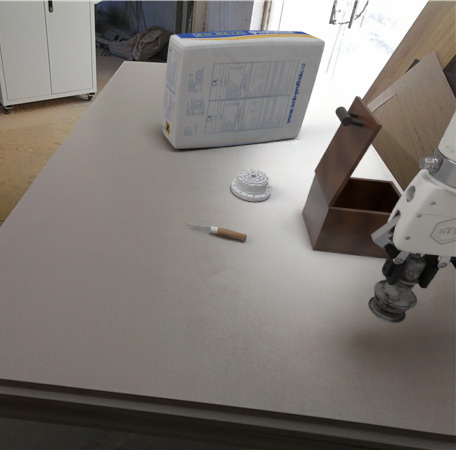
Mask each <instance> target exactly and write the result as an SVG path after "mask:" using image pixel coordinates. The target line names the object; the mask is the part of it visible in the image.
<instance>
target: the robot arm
mask: <svg viewBox="0 0 456 450" xmlns="http://www.w3.org/2000/svg"><path fill="white" fill-rule="evenodd" d="M418 165H419V169H420V171H418V173H417V174H416V175H415V177H414V178H413V179H412V180H411V182H410V183H409V184H408V186H407V187H406V188H405V190H404V191H403V192H402V193H401V195H402V196H401V197H400V199H399V201H398V202H397V204H396V206H395V208H394V209H393V211H392V213H391V215H390V217H389V220H388V222H387V223H386V224H385V225H384V226H382V227H381V228H379V229H378V230H377V231H375V232H374V233H372V235H371V237H372V239H373V241H374V243H375V244H377V245H378V246H380V247H381V248H383V249H385V251H386V252H387V253H388V257H387V258H385V261H384V263H383V265H382V268H381V273H382V275H383V277H384V278H385V279H386V280H387V282H388V284H389V285H395V284H396V282H397V280H398V278H399V277H400V275H401V273H402V271H403V270H404V268H405V265H404V263H403V261H404V260H405V259H406V258H407V256H408V255H409V254H410V253H415V254H416V253H421V257H423V258H424V260H425V262H426V265H425V267H424V269H423V271H422V272H421V274H420V276H419V278H420V282H419V283H418V284H417V285H418V286H419V288H421V289H424V290H425V289H427V288H428V287H429V286H430V283H431V282H432V281H433V280H434V278H435V277H436V275H437V274H438V273H439V271H440V269H446V268H447V267H448V266H449V263H452V262H454V261H456V110H455V111H454V113H453V115H452V117H451V119H450V122H449V123H448V125H447V127H446V129H445V131H444V134H443V135H442V137H441V139H440V142H439V143H438V146H437V147H436V148H434V151H433V153H432V155H430V156H423V157H421V158H420V160H419V162H418ZM392 235H393V241H391V239H389V238H390V237H391V236H392Z"/></svg>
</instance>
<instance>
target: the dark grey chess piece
mask: <svg viewBox="0 0 456 450" xmlns="http://www.w3.org/2000/svg"><path fill="white" fill-rule="evenodd" d="M403 263H404V265H405V268H404V270H403V271H402V273H401V275H400V277H399V278H398V280H397V282H396V284H395V285H389V284H388V282H387V280H386V278H385V279H380V280H377V282H375V284H374V286H373V289H374V290H373V291H374V292H373V293H374V296H372V297H371V298H370V299H369V300H368V303H367V304H368V306H367V307H368V308H369V310H370V311H371V313H372V314H373V315H374V316H375V317H377V318H378V319H380V320H381V321H384V322H387V323H391V324H398V323H401V322H403V321H404V320H405V319H406V315H407V313H406V312H408V311H409V310H411V309H413V308H415V307H416V305H417V304H418V298H417V295H416V294H415V292H414V291H413V289H414V287H415V286H416V285H419V284H418V283H419V282H420V278H419V276H420V274H421V272H422V271H423V269H424V267H425V265H426V262H425V260H424V258H423V257H422V254H421V253H410V254H409V255H408V256H407V258H406V259H405V260H404V261H403Z"/></svg>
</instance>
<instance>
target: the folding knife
mask: <svg viewBox="0 0 456 450" xmlns="http://www.w3.org/2000/svg"><path fill="white" fill-rule="evenodd" d="M184 224H185V225H186V226H187V227H189V228H191V229H194V230H195V229H196V230H199V231H200V230H202V231H206V232H211V233H213V234H217V235H221V236H224V237H229V238H234V239H237V240H240V241H241V242H243V243H245V242H246V241H247V237H248V235H247V234H245V233H242V232H238V231H235V230H231V229H228V228H223V227H217V226H211V225H210V226H209V225H203V224H196V223H187V222H184Z"/></svg>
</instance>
